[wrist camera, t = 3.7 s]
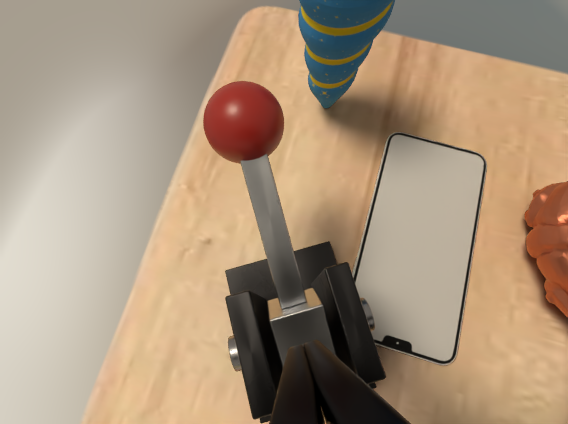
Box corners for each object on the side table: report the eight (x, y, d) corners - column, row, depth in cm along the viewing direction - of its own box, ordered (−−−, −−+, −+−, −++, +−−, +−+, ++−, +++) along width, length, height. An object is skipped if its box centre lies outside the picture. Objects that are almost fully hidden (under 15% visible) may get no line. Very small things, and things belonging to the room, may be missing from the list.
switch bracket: (228, 272, 23) (187, 246, 14) (327, 244, 24) (353, 200, 14) (262, 417, 21) (240, 504, 12) (372, 383, 21) (438, 440, 12)
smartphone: (489, 155, 25) (455, 370, 21) (484, 158, 26) (450, 368, 22) (389, 128, 26) (338, 332, 22) (386, 132, 27) (336, 331, 23)
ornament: (370, 97, 27) (468, -149, 12) (338, 149, 26) (403, -55, 11) (313, 67, 28) (341, -197, 13) (278, 116, 27) (268, -114, 12)
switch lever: (200, 103, 15) (185, 81, 12) (270, 86, 16) (274, 59, 12) (271, 357, 16) (275, 397, 13) (337, 337, 17) (356, 372, 13)
